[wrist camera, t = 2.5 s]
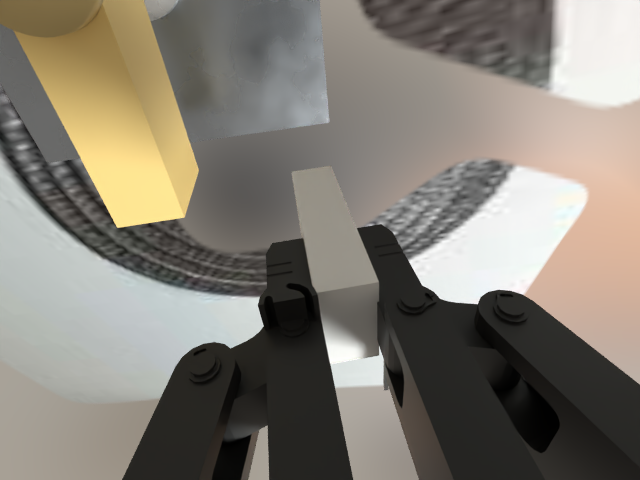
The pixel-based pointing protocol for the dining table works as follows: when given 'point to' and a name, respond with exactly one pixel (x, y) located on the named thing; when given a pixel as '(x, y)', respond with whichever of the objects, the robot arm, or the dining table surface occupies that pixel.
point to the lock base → (206, 70)
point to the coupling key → (111, 100)
